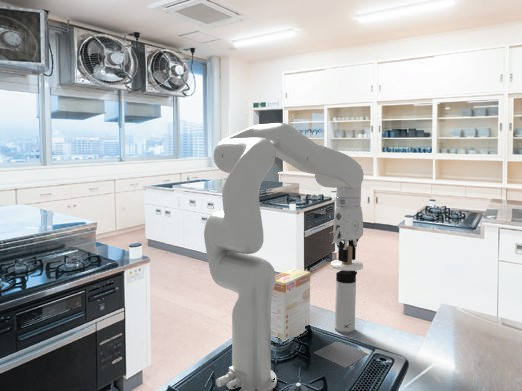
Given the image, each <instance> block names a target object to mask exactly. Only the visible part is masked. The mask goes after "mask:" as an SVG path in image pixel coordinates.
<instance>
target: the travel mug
mask: <svg viewBox="0 0 522 391" xmlns="http://www.w3.org/2000/svg"><path fill="white" fill-rule="evenodd" d="M357 274H358V270H357V271H344V270H339V271H337V272H336V279H335V307H334V308H335V312H334V330H335V332H337V333H339V334H341V335H343V334H344V335H351V334H354V333H355V331H356V330H355V329H356V299H357V297H356V296H357V295H356V293H357Z"/></svg>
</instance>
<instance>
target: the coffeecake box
mask: <svg viewBox="0 0 522 391" xmlns="http://www.w3.org/2000/svg"><path fill="white" fill-rule="evenodd" d="M310 308H311V271H306V270H302V269H299V268H298V269H297V268H291V269H289V270H286V271H284V272H281V273H278V274H276V279H275V286H274V290H273V295H272V303H271V336H274V337H278V338H280V339H282V340H286V339H289V338H292V337H297V336H299V335H300V334H302V333H303V332H304V331H305V330H306V329H305V326H306V325H310V321H311V318H310V317H311V316H310V315H311V314H310V313H311V309H310ZM310 326H311V325H310ZM299 337H300V336H299Z"/></svg>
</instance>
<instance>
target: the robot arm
mask: <svg viewBox="0 0 522 391" xmlns="http://www.w3.org/2000/svg"><path fill="white" fill-rule="evenodd" d="M276 158H278V159H280V160H282V161H283V162H285V163H287V164H289V165H290V166H292V167H293V168H295V169H296V170H298V171H300V172H304V173H307V174H311V175H314V178H315V181H316V183H317V184H318V185H319V186H321V187H325V188H334V189H336V192H335V194H336V196H335V197H336V200H335V201H336V202H335V212H334V216H333V231H332V232H333V238H332V242H333V243H334V244H335V245H336V246H337V247H336V248H337V249H338V250H337V251H338V252H337V253H338V255H337V256H338V258H337V260H339V261H342V262H348V250H347V245H349V246H352V260H354V261H356V255H357V253H356V250H357V247H358V242H359V240H360V239H361V238H362V237H363V235H364V221H363V220H364V218H363V210H362V205H361V204H362V203H361V202H362V200H361V199H362V183H363V180H364V177H365V176H364V171H363V168H362V166H361V164H360V163H359V162H358V161H356V160H355V159H354V158H353V157H351V156H350V155H348V154H346V153H344V152H341V151H338V150H335V149H332V148H329V147H327V146H323V145H321V144H319V143H316V142H315V141H313V140H311V139H310V138H309V137H307V136H306V135H304V134H303V133H302V132H300V131H299V130H298V129H296V128H295V127H294V126H292V125H290V124H288V123H286V122H285V123H284V122H273V123H262V124H261V123H260V124H259V123H258V124H256V125H253V126H251V127H248V128H246V129H244V130H241V131H240V132H237V133H235V134H232V135H231V136H227V137H225V138H224V139H222V140H221V141H219V142H218V143H217V145H216V146H215V148H214V151H213V160H214V164H215V165H216V167H217V168H218V169H219V170H220V171H222V172H224V173H228V176H227V178H226V179H225V182H224V185H223V187H222V193H221V194H222V195H221V196H222V198H221V200H222V208H223V209H222V210H218V211H215V212H213V213H212V214H210V216H209V217H208V218H207V220H206V222H205V224H204V230H203V238H204V239H203V240H204V245H205V252H206V257H207V262H208V267H209V268H208V269H209V272H210V276H211V278H212V280H213V282H214V283H215V284H216V285H218V286H219V287H221V288H224V289H227V290H229V291H232V292H235V293H236V294H238V296H237V300H236V301H235V304H234V306H233V308H232V312H231V345H232V346H231V351H232V352H231V362H232V363H231V366H229V367H228V372H226V374H225V375H222V376H221V377H218V378H216V379H215V384H216V387H217V388H221V387H223V386H225V385H226V387H227V388H228V390H230V389H233V388H236V387H241V389H240V390H239V391H273V390H274V389H275V388H276V386H277V382H278V376H277V374H276V373H275V372H274V371H273V370H272V369H271V368H272V367H271V365H272V360H271V359H272V355H271V354H272V351H271V350H272V347H271V346H272V345H271V344H272V342H271V303H272V295H273V290H274V286H275V279H276V275H277V273H276V270H275V268H274V266H273V265H272V264H271V263H270V262H269V261H267V260H266V259H264V258H261V257H260V256H255V255H253V254H256V253H258V252H259V251H260V250H261V248H262V247H263V246H264V245H263V244H264V237H265V236H264V234H265V233H264V228H263V219H262V212H261V205H260V188H261V185H262V183H263V181H264V178H265V177H266V176H267V174H268V173H269V171H270V170H271V168H272V167H273V165H274V163H275V161H276ZM274 378H275V380H273V379H274ZM273 381H274V382H273ZM273 388H274V389H273Z"/></svg>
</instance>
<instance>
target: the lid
mask: <svg viewBox="0 0 522 391" xmlns="http://www.w3.org/2000/svg"><path fill="white" fill-rule="evenodd" d="M347 250H348V262H342V261H339V260H338V259H334V260H332V261H331V262H330V267H331V268H332V269H335V270H339V271H342V270H344V271H357V272H358V271H361V270H363V269H364V264H363V262H361V261H359V260H352V246H349V245H348V244H347Z"/></svg>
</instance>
